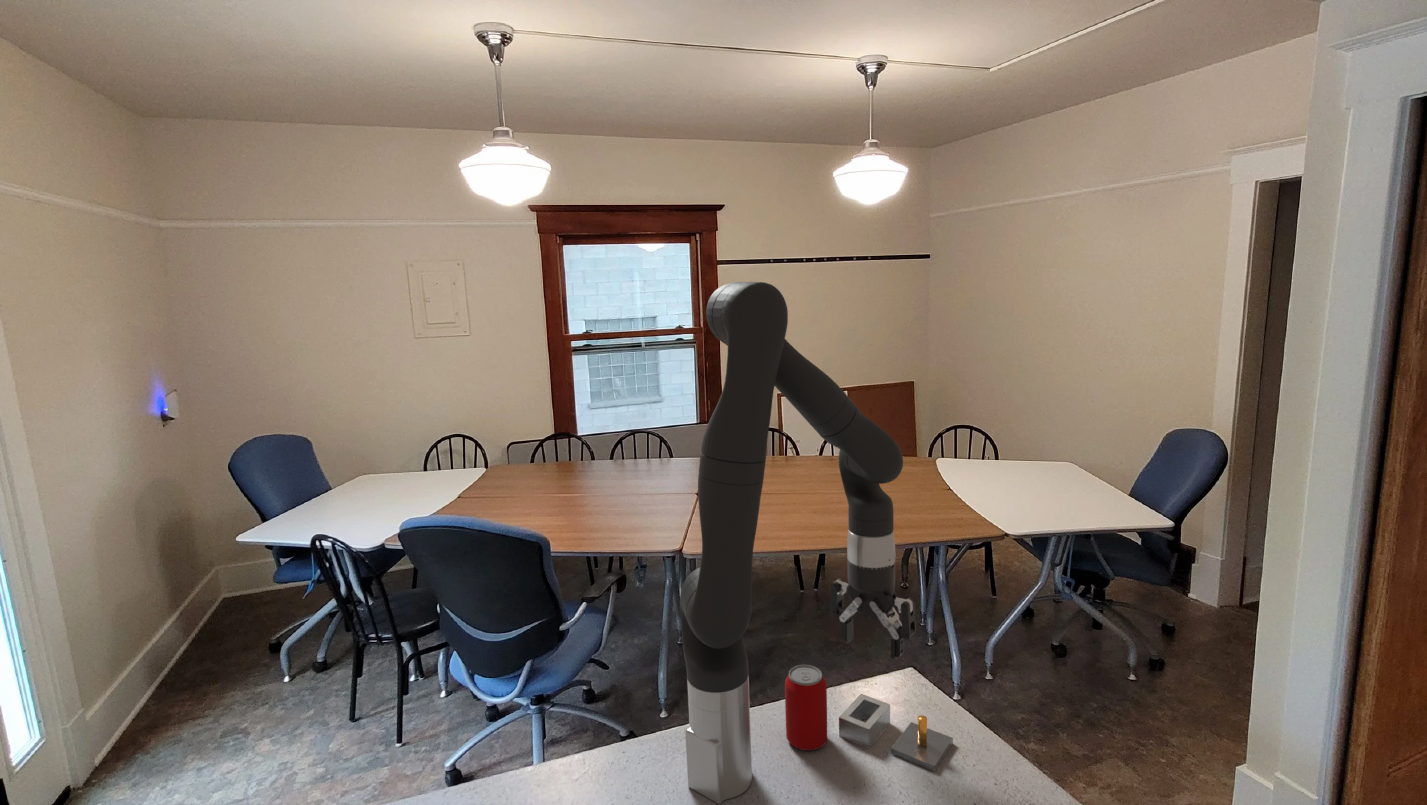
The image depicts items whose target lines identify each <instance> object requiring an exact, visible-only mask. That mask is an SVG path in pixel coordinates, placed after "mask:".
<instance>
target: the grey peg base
mask: <svg viewBox="0 0 1427 805" xmlns="http://www.w3.org/2000/svg"><path fill="white" fill-rule="evenodd" d="M953 743H954V738H953V737H951V736H949V735H946V734H943V733H941V732H939V731H936V730H933V729H931V728H928V717H927V716H925V715H924V714H923V715H922V714H921V715H918V716H917V723H915V722H913V721H911V722H910V723H909V724H908V726H907V727H906V728H905V729H904V730H903V732H902V734H901V735H900V736H899V737H898V738H897V740H895V743H894V744H893V745H892V746H891V748H890V754H891V755H892V756H895V757H897V758H900V759H902V760H904V761H907V762H910V763H912V764H914V765H917V766H919V767H921V768H924V769H926V770H929V771H931V772H933V773H935V772H936V770H937V769H938V768H939V766H940V764H941V762H942V761H943V760H944V758H945V757H946V755H947V753H948V752H949V750H950V749H951V747H952V745H954V744H953Z"/></svg>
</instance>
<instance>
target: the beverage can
mask: <svg viewBox="0 0 1427 805" xmlns="http://www.w3.org/2000/svg"><path fill="white" fill-rule="evenodd" d="M827 695H828V694H827V682H826V679H825V677H824V676H823V673H822V671H821V670H820V668H818V667H816V666H814V665H810V664H798V665H795V666H794V667H791V669H790V670H789V672H788V675H787V676H786V678H785V680H784V703H785V706H784V707H785V708H784V709H785V732H786V733H785V735H786V740H787V742H788V743H789V744H790V745H791V746H793V747H795V748H797V749H800V750H802V749H803V751H812V750H813V751H814V750H817V749H820V748H821V747H823V746H824V745H825V744H826V742H827V741H828V696H827Z"/></svg>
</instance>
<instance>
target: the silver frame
mask: <svg viewBox="0 0 1427 805" xmlns="http://www.w3.org/2000/svg"><path fill="white" fill-rule="evenodd" d="M864 719H867V720H866V721H865V722H864V721H863V720H864ZM890 724H891V704H890V703H887V702H884V701H882V700H879V699H877V698H874V697H871V696H868V695H866V694H864V693H860V694H859V695H858V696H857V697H856V698H855V699H854V700H853V701H852V702H851V704H850V705H849V706H848V707H847V708H846V709H845V710H844V711H843V712H842V713H841V714H840V715H839V717H838V737H840V738H842V739H845V740H848V741H849V742H851V743H854V744H856V745H858V746H861V747H863V748H866V749H867V750H870V748H871V747H872V746H873V745H874V744H875V742H876V741H877V740H878V739H879V738H880V737H881V735H882V734H883V733H884V731H885V730H886V729H887V728H888V727H889V725H890Z"/></svg>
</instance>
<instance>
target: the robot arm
mask: <svg viewBox="0 0 1427 805" xmlns="http://www.w3.org/2000/svg"><path fill="white" fill-rule="evenodd" d="M705 311H706V312H705V313H706V314H705V315H706V322H707V325H708V328H709V329H710V331H711V333H712V334H713V335H714V337H715V338H716V339H718V340H719V341H720V342H721V343H723V344H724V345H726V346H727V355H726V356H727V357H726V369H725V370H726V371H725V377H724V384H723V388H722V392H721V394H720V397H719V399H718V401H717V405H716V406H715V409H714V410H713V412H712V414H711V417H710V419H709V421H708V424H707V425H706V429H705V431H704V434H703V438H702V441H701V448H700V456H699V458H700V459H699V465H698V466H699V467H698V476H697V498H698V500H697V501H698V511H699V512H698V513H699V523H700V531H701V533H700V534H701V546H702V547H701V557H700V567H698V568H695V569H694V570H693V571H691V573H690V574H689V575H688V576H686V579H685V580H684V582H683V583H682V587H681V589H680V596H679V609H680V610H679V611H680V612H679V613H680V623H681V624H680V625H681V638H682V639H681V640H682V648H683V649H682V650H683V656H684V662H685V668H686V682H687V683H686V684H687V704H688V721H689V727H687V728H686V730H684V732H685V734H684V735H685V748H686V752H685V753H686V766H687V767H686V768H687V786H688V787H689V788H690V789H692V790H694V791H695V792H697V793H699V794H701V795H702V796H704V797H706V798H708V799H710V800H711V801H713V802H715V803H716V804H719V805H720V804H722V802H723V801H725V800H729V799H733V798H736V797H738V796H741V795H742V794H743V793H744V792H746V791H747V789H748V788H750V785H751V783H752V781H753V766H752V765H753V763H752V762H753V761H752V758H753V757H752V740H751V739H752V738H751V737H752V736H751V735H752V734H751V712H750V710H751V707H750V680H749V679H750V678H749V675H750V674H749V661H748V660H749V658H748V655H747V651H746V647H745V643H744V636H743V635H745V632H746V631H747V628H748V627H749V624H750V621H751V618H752V605H753V600H752V599H753V597H752V596H753V594H752V593H753V591H752V590H753V587H752V586H753V557H754V555H753V554H754V548H755V547H754V546H755V539H756V533H757V527H758V523H759V522H758V521H759V512H760V506H761V505H760V504H761V498H762V491H763V486H764V478H765V470H766V462H767V460H766V459H767V448H768V438H769V431H770V422H771V415H772V408H773V407H772V406H773V399H774V390H775V388H776V389H777V390H778V391H779V392H780V393H781V394H782V396H783V397H785V398H786V400H787V401H788V402H789V403H790V404H791V405H792V406H793V408H795V409H796V410H797V411H798V412H799V414H800V415H801V416H802V417H803V418H804V420H806V422H808V424H809V425H810V426H811V427H812V428H813V429H814V430H815V432H816V433H817V434H818V435H819V436H820V437H821V438H822V439H823V440H825V441H826V442H827V443H828V444H830V445H831V446H834V447H836V448H837V449H839V452H838V468H839V473H840V478H841V481H842V486H843V490H844V494H845V497H846V499H847V500H846V501H847V504H848V509H847V510H848V511H847V513H848V517H847V518H848V523H847V524H848V533H847V541H846V543H847V544H846V546H847V552H846V553H847V554H846V556H847V582H848V583H847V582H845V580H844V578H841V577H839V578H838V579H836V580H834V581H833V582H832V583H831V584H830V600H829V601H830V605H829V613H830V615H831V616H833V617H834V616H836V617H837V618H839V619H838V620H839V621H840V629H841V630H840V636H841V638H842V639H843V643H846V644H850V643H851V642H852V641H853V640H854V637H855V632H854V630H855V629H854V627H855V626H854V618H853V617H852V616H854V615H855V614H856V613H857V612H858V613H859V614H860V615H861V616H865V617H870V618H871V619H874V620H879V621H880V623H881V625H882V627H884V628H886V629H887V631H888V632H889V634H890V635H891V637H890V659H891V660H894V661H897V659H899V658H900V657H902V655H903V654H904V652H905V640H909V639H910V638H912V636H913V635H914V634H916V632H917V623H916V604H915V600H914V598H913V597H908V598H907V599H906V598H901V597H898V596H897V594H896V590H895V588H896V558H897V553H896V541H895V534H894V531H895V530H894V529H895V528H894V502H893V500H892V498H891V496H890V495H888V494H887V493H886V492H885V491H884V490H883V489H882V487H881V486H880V485H881V484H882V485H883V484H889V483H891V482H893V481H894V480H895V479H897V478H898V477H899V475H900V474H901V472H902V470H903V467H904V458H903V453H902V451H901V449H900V448H901V447H900V446H899V444H898V443H897V442H896V441H895V440H894V439H893V438H892V437H891V435H889V434H888V433H887V432H886V431H885V430H884V429H882V428H881V427H880V426H878V424H876V423H875V422H874V421H873V420H871V418H869V417H867V416H866V414H865V415H864V413H863V412H861V411H860V410H859V408H858V406H856V404H855V403H854V401H853V400H852V399H851V398H850V397H849V396H848V394H847V393H845V391H844V390H843V389H842V388H841V386H839V385H838V384H837V382H835V380H834V379H833V378H831V377H830V375H828V374H827V373H825V371H823V370H821V369H820V368H819V367H818V366H817V365H815V364H814V363H813V362H811V361H810V360H809V359H808V358H806V357H805V356H804V355H802V354H801V353H800V352H799V351H798V350H797V349H796V348H794V346H793V345H792V344H790V342H789V341H788V340H787V339H786V334H787V330H788V323H789V322H788V321H789V319H788V318H789V317H788V316H789V313H788V312H789V311H788V305H787V302H786V300H785V297H784V295H783V293H782V292H781V291H780V290H779V289H778V288H777V287H776V286H774V285H773V284H771V283H767V282H764V281H736V282H735V281H734V282H729V283H726V284H724V285H721V286H719V287H717V289H715V290H714V291H713V293H712V294H711V295H710V296H709V298H708V301H707V305H706V310H705ZM845 594H847V596H848V598H849V600H850V602H851V603H850V604H849V605H848V607H846V608H844V606H845V605H844V604H845V602H844V600H845ZM895 606H896V607H897V608H898V609H897V610H898V612H897V611H896V609H895ZM899 614H901V615H899ZM887 615H888V616H889V617H888V616H887ZM900 616H901V620H900Z"/></svg>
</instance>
